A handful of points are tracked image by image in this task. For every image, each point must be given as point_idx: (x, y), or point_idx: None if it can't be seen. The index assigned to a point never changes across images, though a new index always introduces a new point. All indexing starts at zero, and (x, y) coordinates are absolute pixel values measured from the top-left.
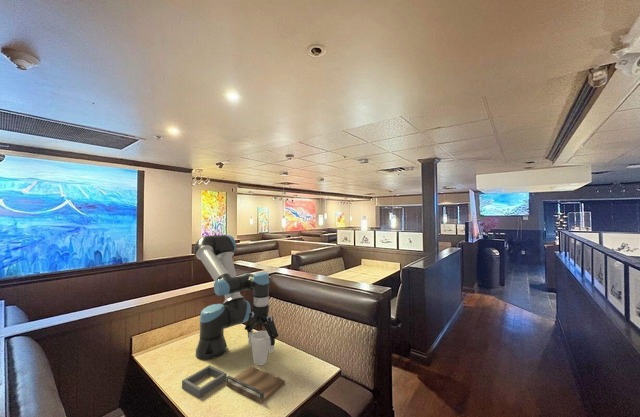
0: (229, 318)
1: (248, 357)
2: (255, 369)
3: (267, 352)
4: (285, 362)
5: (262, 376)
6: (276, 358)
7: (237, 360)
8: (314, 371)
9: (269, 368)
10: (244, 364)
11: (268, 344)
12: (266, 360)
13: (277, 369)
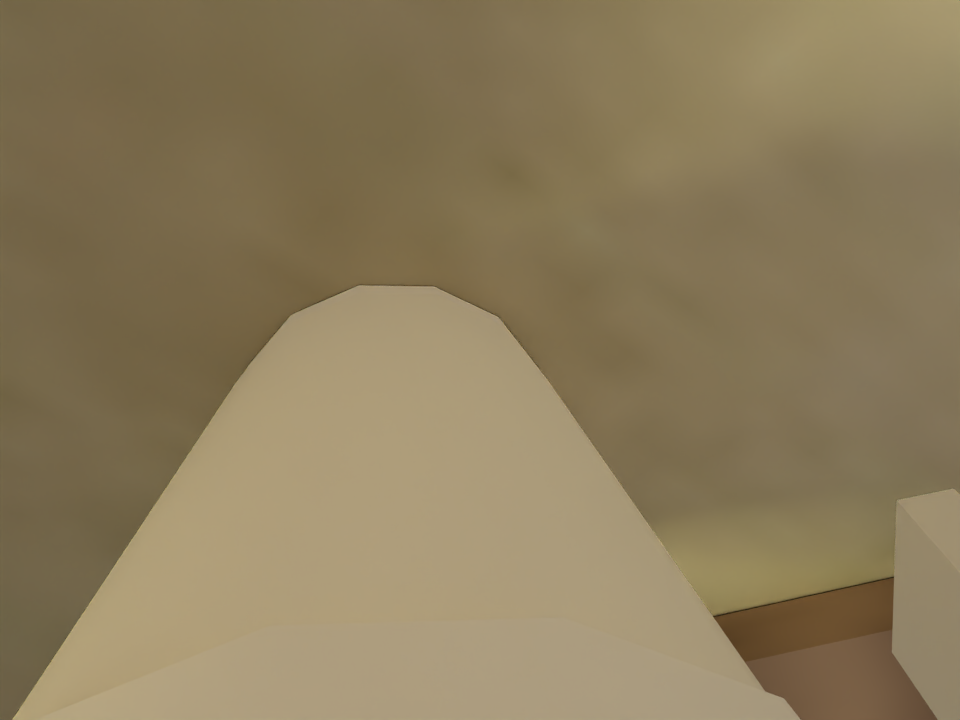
0: None
1: (35, 522)
2: None
3: (605, 466)
4: (936, 5)
5: None
6: (592, 54)
7: (12, 711)
8: None
9: (770, 425)
10: None
11: (735, 654)
12: (530, 359)
13: (942, 332)
